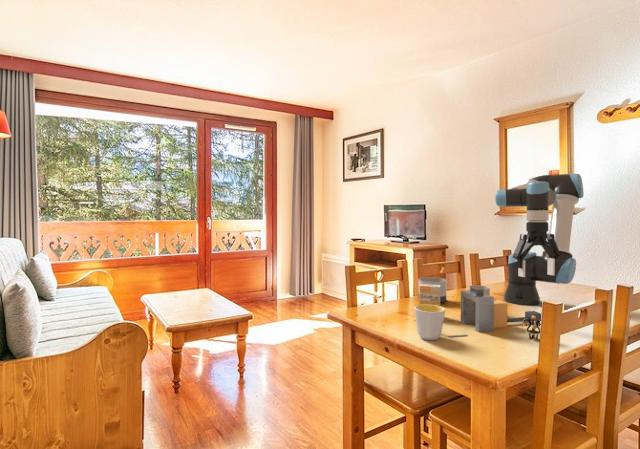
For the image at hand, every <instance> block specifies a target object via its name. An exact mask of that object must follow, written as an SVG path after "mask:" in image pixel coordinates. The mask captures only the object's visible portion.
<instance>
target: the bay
mask: <svg viewBox="0 0 640 449" xmlns="http://www.w3.org/2000/svg"><path fill="white" fill-rule="evenodd" d="M444 322H445V320H444V321H443V323H444ZM447 337H448V338H457V337H458V338H459V337H460V338H461V337H468V334H454V335H447Z"/></svg>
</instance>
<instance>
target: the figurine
mask: <svg viewBox="0 0 640 449" xmlns="http://www.w3.org/2000/svg"><path fill="white" fill-rule="evenodd" d="M531 318H532V321H530V320H529V319H527V318H526V319H524V320H523V322H522V323H523V324H522V325H523V326H524V327H527V328H526V331H525V332H526V333H528V337H527V338H528V340H532V341H534V340H535V341H539V339H540V338H539V335H540V333H541V331H540V330H541V328H540V325H541V324H538V322H540V321H541V320H538V321H537V323H536V322H535V319H536V317H535V316H532V317H531ZM525 320H528V321H529V323H527V322H525ZM530 328H531V329H530ZM537 329H538V330H537ZM535 341H534V342H535Z"/></svg>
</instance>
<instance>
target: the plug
mask: <svg viewBox="0 0 640 449" xmlns="http://www.w3.org/2000/svg"><path fill="white" fill-rule="evenodd" d="M541 314H542V312H538V311H535V310H527V311H524V316H523V317H509V318H508V302H507V301H503V300H500V299H494V329H495V328H496V329H497V328H507V327H508V323H523V320H524V319H526V318H527V319H529V320H530V321H532V318H531V317H532V316H535V317H536V319H535V322H536V323H537V321H538V320H541ZM525 322H526V323H527V324H529V321H528V320H525ZM538 325H540V322H538Z"/></svg>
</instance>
